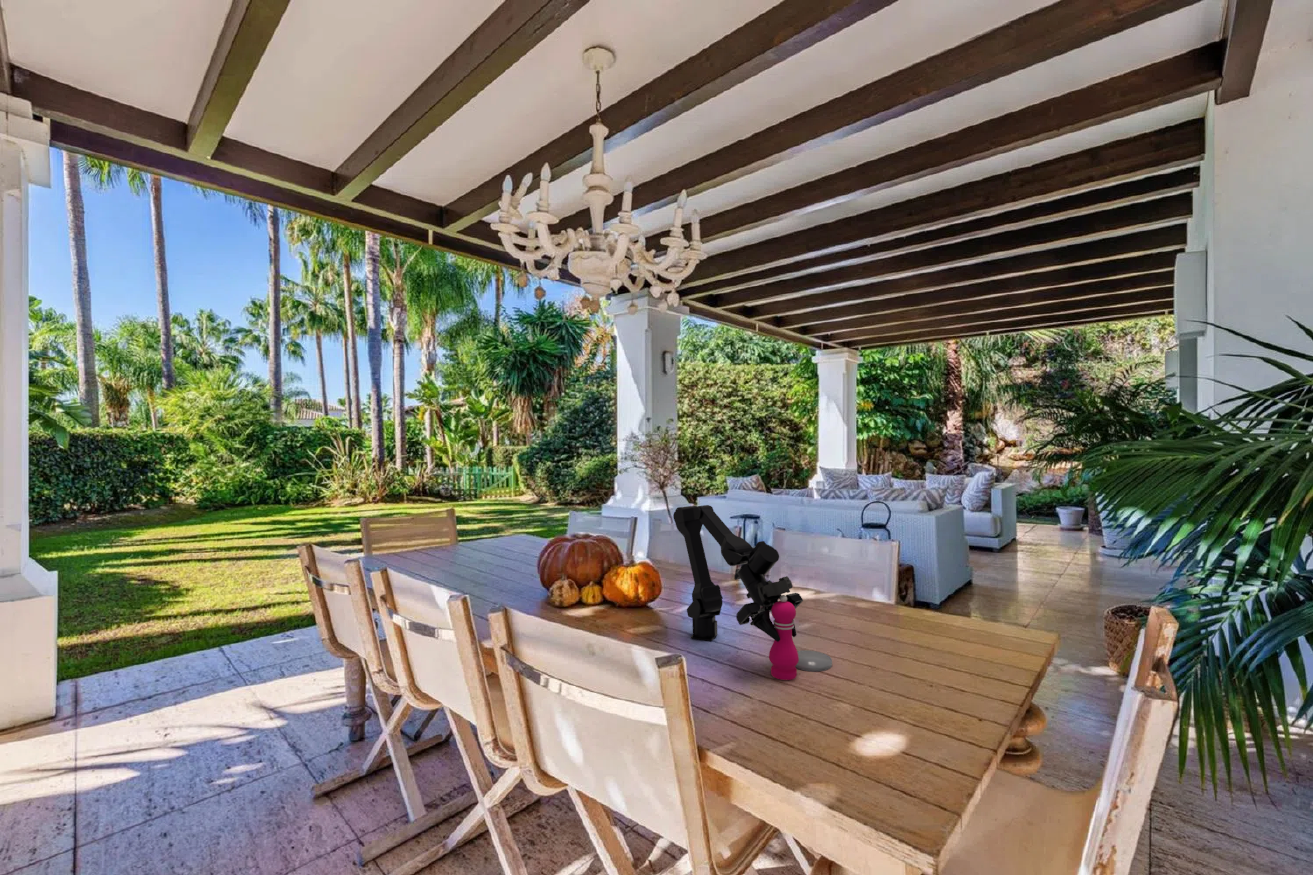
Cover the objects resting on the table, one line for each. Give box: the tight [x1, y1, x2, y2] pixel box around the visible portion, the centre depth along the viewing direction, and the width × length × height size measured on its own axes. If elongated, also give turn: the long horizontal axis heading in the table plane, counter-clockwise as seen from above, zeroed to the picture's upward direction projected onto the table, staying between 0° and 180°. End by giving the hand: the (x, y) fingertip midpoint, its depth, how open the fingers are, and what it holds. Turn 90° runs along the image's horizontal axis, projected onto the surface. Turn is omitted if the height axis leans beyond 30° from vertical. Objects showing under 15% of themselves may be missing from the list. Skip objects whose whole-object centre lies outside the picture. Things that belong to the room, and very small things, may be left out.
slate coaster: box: [795, 649, 833, 673], centre depth 152 cm, size 11×11×1 cm
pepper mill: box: [768, 594, 799, 681], centre depth 145 cm, size 7×7×20 cm
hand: (787, 638), depth 144 cm, fingers closed on pepper mill, 5 cm apart
